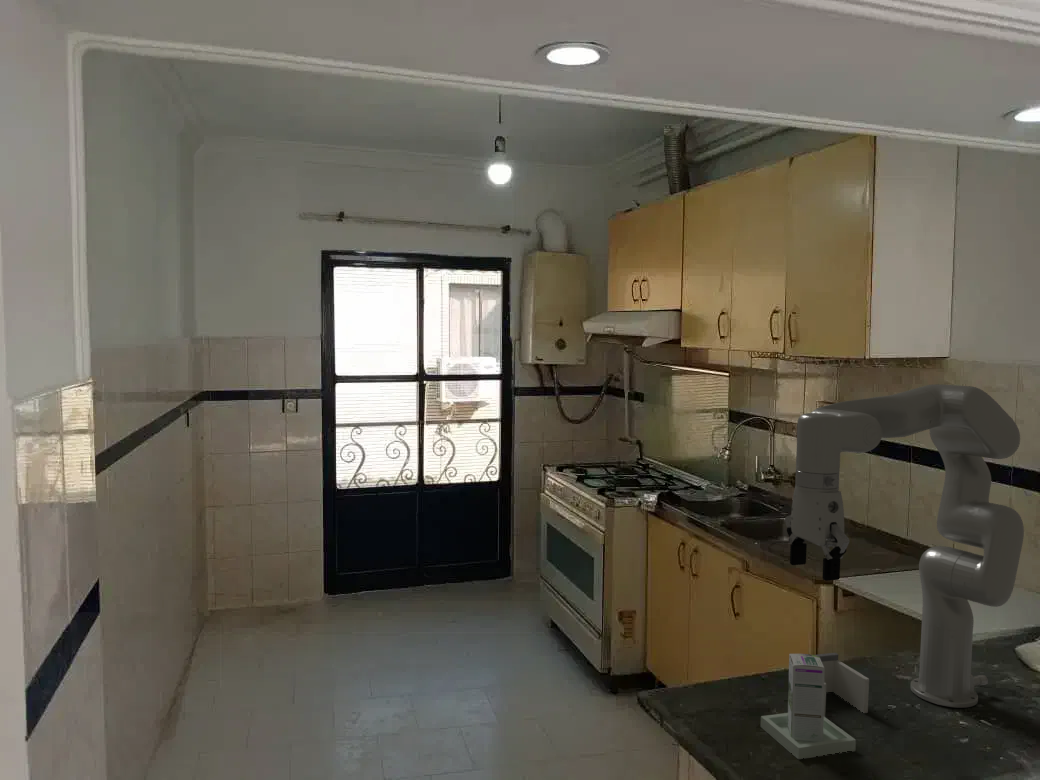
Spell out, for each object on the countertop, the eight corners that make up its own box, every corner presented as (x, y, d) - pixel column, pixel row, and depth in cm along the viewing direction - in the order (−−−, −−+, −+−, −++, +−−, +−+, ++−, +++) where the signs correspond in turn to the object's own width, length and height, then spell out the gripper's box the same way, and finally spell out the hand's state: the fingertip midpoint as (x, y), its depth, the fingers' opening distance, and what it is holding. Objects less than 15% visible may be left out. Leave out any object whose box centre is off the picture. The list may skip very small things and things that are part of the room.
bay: (833, 689, 166) (835, 652, 165) (867, 712, 156) (869, 673, 155) (789, 695, 163) (790, 657, 163) (820, 718, 153) (822, 678, 152)
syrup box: (823, 744, 142) (827, 667, 141) (790, 740, 143) (793, 664, 142) (818, 729, 148) (821, 654, 147) (785, 725, 149) (788, 652, 148)
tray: (814, 719, 153) (814, 709, 152) (855, 751, 141) (855, 739, 141) (760, 726, 149) (760, 716, 149) (798, 759, 138) (798, 748, 138)
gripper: (866, 488, 135) (863, 584, 136) (805, 471, 151) (802, 557, 153) (830, 490, 133) (826, 588, 134) (772, 473, 149) (769, 560, 151)
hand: (813, 571), depth 143 cm, fingers open, 9 cm apart
